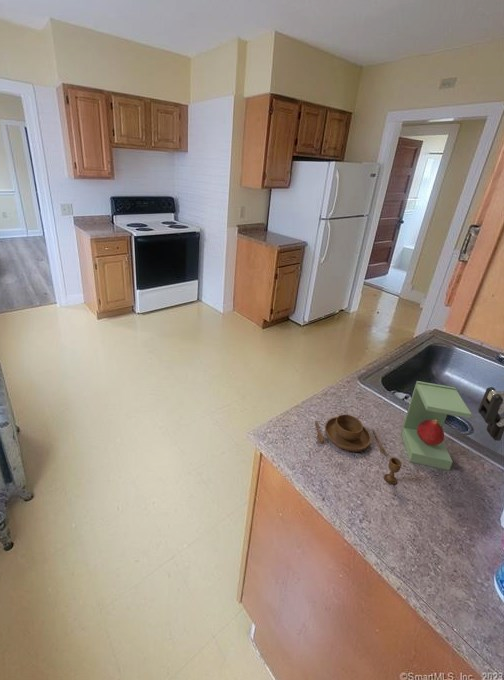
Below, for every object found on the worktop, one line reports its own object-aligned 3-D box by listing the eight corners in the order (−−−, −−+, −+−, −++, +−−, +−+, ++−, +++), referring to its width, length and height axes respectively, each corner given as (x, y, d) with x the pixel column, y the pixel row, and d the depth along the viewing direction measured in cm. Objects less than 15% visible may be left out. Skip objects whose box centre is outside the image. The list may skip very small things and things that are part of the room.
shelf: (449, 470, 80) (472, 413, 73) (409, 461, 82) (428, 405, 76) (436, 440, 89) (455, 387, 82) (400, 433, 91) (416, 380, 84)
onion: (411, 444, 84) (419, 420, 81) (416, 431, 88) (424, 408, 85) (437, 456, 80) (446, 431, 77) (441, 443, 84) (450, 419, 81)
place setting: (372, 424, 94) (376, 408, 92) (401, 485, 76) (407, 467, 74) (311, 418, 96) (314, 402, 93) (325, 477, 77) (329, 459, 75)
